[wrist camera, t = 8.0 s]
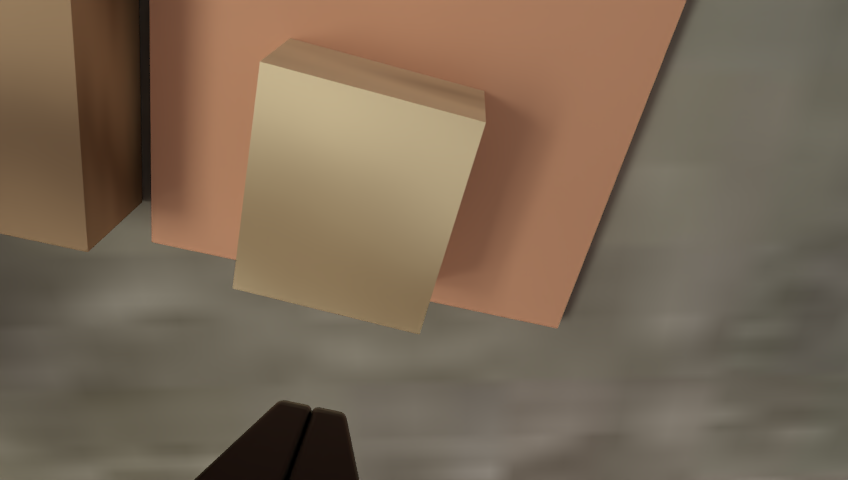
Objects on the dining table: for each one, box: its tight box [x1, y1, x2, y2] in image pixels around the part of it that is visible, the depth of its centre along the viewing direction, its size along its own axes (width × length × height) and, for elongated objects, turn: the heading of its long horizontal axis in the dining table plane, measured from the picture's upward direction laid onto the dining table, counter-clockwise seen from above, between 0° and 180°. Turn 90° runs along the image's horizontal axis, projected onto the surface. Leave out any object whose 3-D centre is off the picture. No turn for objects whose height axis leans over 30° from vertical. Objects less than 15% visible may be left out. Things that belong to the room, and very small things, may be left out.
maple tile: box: [233, 38, 486, 334], centre depth 16 cm, size 6×5×2 cm
